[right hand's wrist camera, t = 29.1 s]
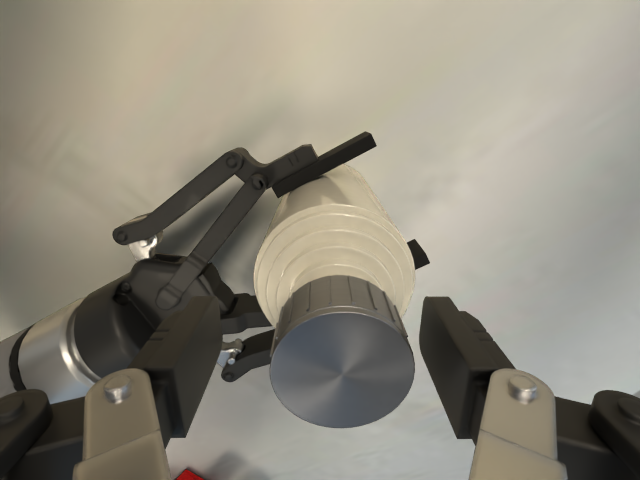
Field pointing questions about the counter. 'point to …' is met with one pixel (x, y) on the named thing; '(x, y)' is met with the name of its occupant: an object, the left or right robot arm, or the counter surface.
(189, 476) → the toy
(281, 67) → the counter surface
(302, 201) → the ribbed frosted cylinder
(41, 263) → the counter surface
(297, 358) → the cap
